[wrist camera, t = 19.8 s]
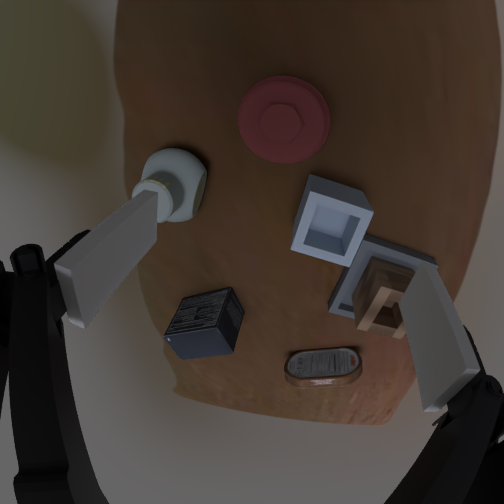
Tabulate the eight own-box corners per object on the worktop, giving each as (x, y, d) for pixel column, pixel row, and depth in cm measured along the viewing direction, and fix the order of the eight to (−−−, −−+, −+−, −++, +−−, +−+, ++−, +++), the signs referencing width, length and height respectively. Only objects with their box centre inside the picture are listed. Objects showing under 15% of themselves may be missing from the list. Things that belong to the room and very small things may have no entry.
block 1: (309, 173, 40) (310, 190, 33) (362, 191, 40) (373, 212, 33) (293, 223, 44) (290, 249, 37) (343, 239, 44) (349, 267, 37)
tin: (287, 358, 59) (283, 391, 52) (284, 348, 57) (280, 382, 50) (360, 352, 55) (364, 385, 48) (360, 342, 54) (364, 375, 46)
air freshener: (163, 139, 41) (127, 153, 32) (214, 153, 41) (189, 170, 32) (152, 203, 47) (120, 230, 38) (198, 219, 47) (173, 250, 38)
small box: (197, 322, 58) (180, 362, 49) (181, 297, 55) (160, 335, 46) (246, 313, 54) (234, 356, 45) (231, 285, 52) (215, 326, 43)
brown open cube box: (371, 255, 44) (381, 286, 37) (413, 269, 43) (427, 299, 36) (351, 295, 48) (356, 328, 41) (391, 306, 47) (400, 339, 41)
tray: (360, 232, 43) (363, 239, 41) (433, 258, 42) (438, 266, 40) (327, 302, 50) (328, 311, 48) (396, 320, 50) (398, 329, 48)
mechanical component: (297, 165, 40) (236, 125, 38) (340, 108, 35) (276, 66, 33) (294, 193, 29) (209, 137, 28) (354, 113, 24) (264, 53, 23)
